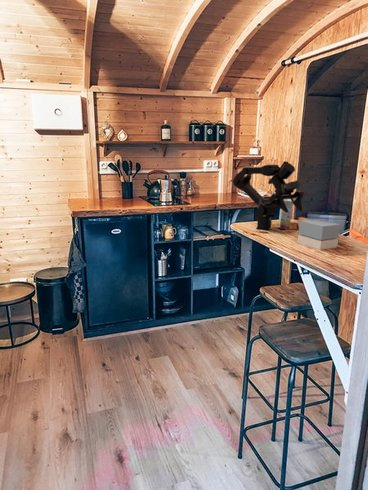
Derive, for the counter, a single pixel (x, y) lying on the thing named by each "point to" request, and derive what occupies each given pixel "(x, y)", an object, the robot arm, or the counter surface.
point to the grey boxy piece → (318, 228)
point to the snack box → (286, 215)
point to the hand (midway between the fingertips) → (294, 211)
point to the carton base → (317, 242)
